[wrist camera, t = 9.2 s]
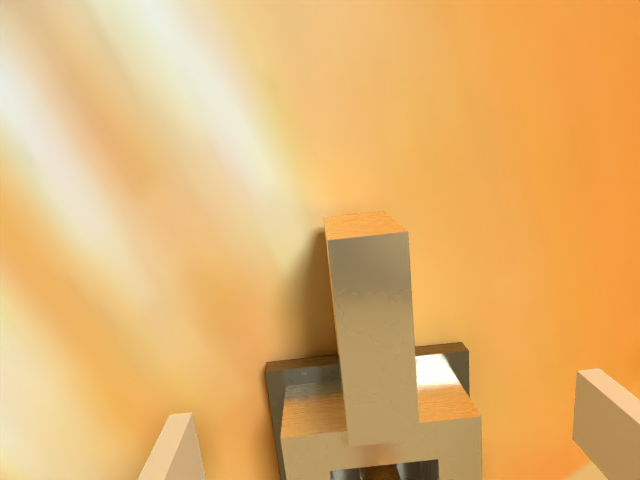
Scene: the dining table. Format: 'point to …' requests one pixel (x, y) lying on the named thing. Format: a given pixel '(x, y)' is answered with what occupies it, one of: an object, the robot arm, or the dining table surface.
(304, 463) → the square loop with stem
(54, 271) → the dining table surface
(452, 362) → the peg on square plate
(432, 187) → the dining table surface
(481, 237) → the dining table surface
